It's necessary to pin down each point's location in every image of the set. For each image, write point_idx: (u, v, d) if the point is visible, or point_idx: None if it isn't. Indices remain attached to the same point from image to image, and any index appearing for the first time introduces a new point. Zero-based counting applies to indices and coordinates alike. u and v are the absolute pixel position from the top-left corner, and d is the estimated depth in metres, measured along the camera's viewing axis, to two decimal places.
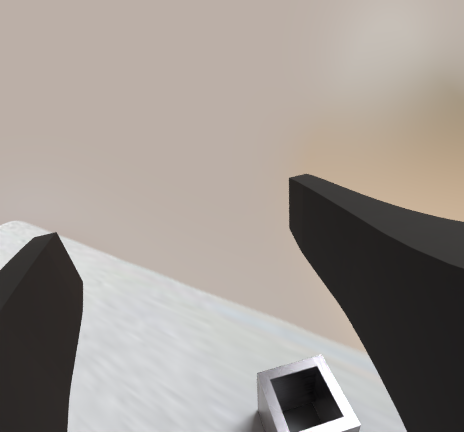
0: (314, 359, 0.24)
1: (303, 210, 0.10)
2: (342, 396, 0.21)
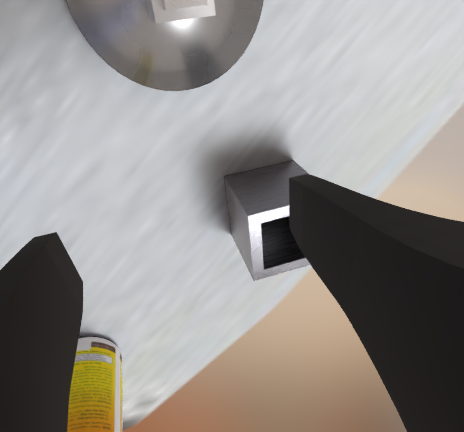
0: None
1: (303, 210, 0.10)
2: (281, 271, 0.21)
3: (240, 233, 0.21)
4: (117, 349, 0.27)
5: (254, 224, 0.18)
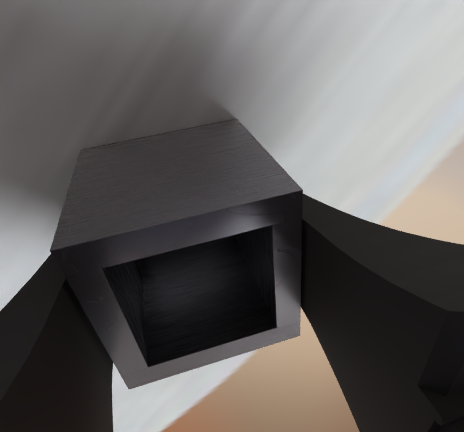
0: (293, 323, 0.09)
1: None
2: (194, 365, 0.09)
3: None
4: None
5: (82, 272, 0.06)
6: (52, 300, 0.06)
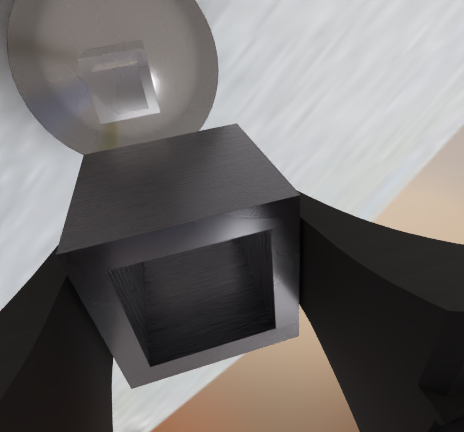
0: (292, 324, 0.09)
1: None
2: (195, 365, 0.09)
3: None
4: None
5: (86, 275, 0.07)
6: (52, 300, 0.06)
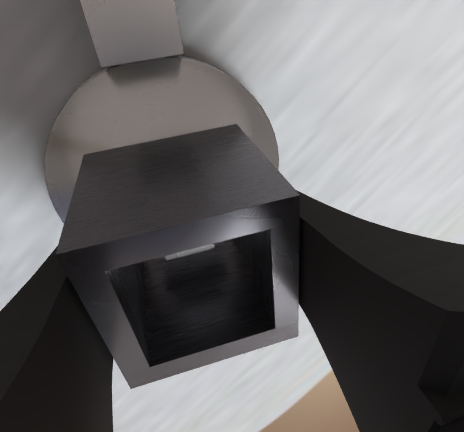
0: (291, 324, 0.09)
1: None
2: (194, 365, 0.09)
3: None
4: None
5: (85, 275, 0.07)
6: (52, 300, 0.06)
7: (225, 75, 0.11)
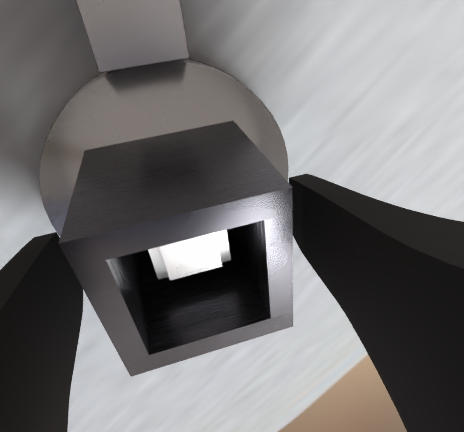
0: (286, 314, 0.10)
1: (303, 210, 0.10)
2: (192, 354, 0.10)
3: None
4: None
5: (87, 264, 0.07)
6: None
7: (233, 80, 0.11)
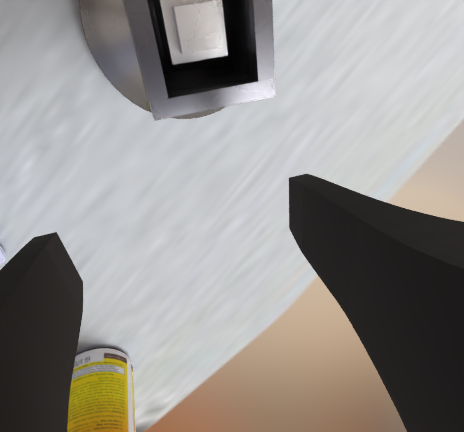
0: (269, 80, 0.13)
1: (303, 210, 0.10)
2: (200, 107, 0.13)
3: None
4: (128, 359, 0.27)
5: None
6: None
7: None
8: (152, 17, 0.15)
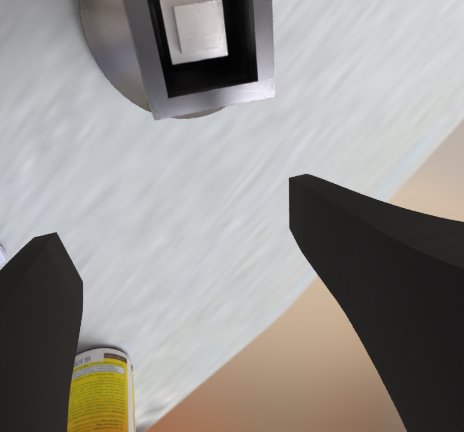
0: (269, 79, 0.13)
1: (303, 210, 0.10)
2: (200, 107, 0.13)
3: (135, 49, 0.13)
4: (128, 359, 0.27)
5: None
6: None
7: None
8: (152, 17, 0.15)
